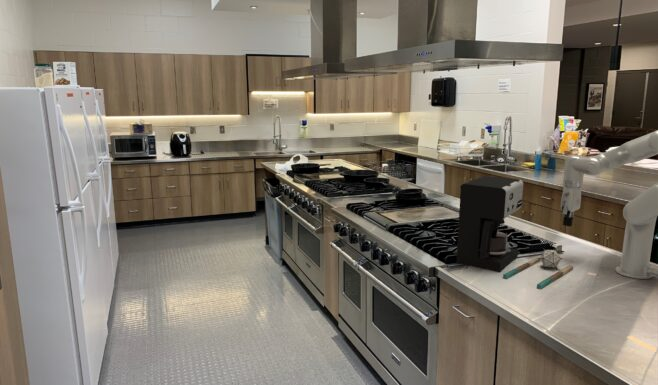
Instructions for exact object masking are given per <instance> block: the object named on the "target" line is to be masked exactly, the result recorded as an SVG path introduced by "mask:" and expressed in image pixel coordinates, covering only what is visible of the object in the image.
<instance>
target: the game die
mask: <svg viewBox="0 0 658 385" xmlns="http://www.w3.org/2000/svg"><path fill="white" fill-rule="evenodd" d="M542 249H543V252H542V254H540V255H541V256H540V257H539V258H537V259H540V262H542V265H543V266H544V267H543V269H544V270H545V269H546V268H555V270H558V268H557V266H559V263H560V261H561V260H563V259H564V258H563V257H560V255H559V253H558V251H557V248H555V249H545V248H544V247H543V248H542Z"/></svg>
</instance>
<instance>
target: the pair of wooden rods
mask: <svg viewBox="0 0 658 385" xmlns="http://www.w3.org/2000/svg"><path fill="white" fill-rule="evenodd" d="M537 258H540V257H538V256H536V257H535V258H533V259H531V260H528V261H527V262H524V263H522V264H520V265H518V266H517V267H515V268H513V269H511V270H509V271H507V272H505V273H503V275H502V278H503V279H504V280H508V279H509V278H511V277H514V276H515V275H517V274H519V273H521V272H522V271H525V270H526V269H528V268H531V267H532V266H534V265H536V264H538V263H539V262H541V260H540V259H537ZM573 269H574V265H570V264H569V265H568V266H565V267H564V268H561V270H558V271H557V272H555V273H554V274H552V275H550V276H548V277H547V278H545V279H543V280H542V281H540V282H538V283H537V284H536V289H539V290H542V289H543V288H545V287H547V286H548V285H550V284H552V283H553V282H555V281H556V280H559V279H560V278H561V277H563V276H564V275H566V274H568V273H570V272H572V271H573Z"/></svg>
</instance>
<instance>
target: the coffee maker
mask: <svg viewBox="0 0 658 385" xmlns="http://www.w3.org/2000/svg"><path fill="white" fill-rule="evenodd" d="M459 188H460V195H459V196H460V197H459V210H458V214H459V215H458V227H457V228H458V229H457V230H458V232H457V247H456V248H457V249H456V264H460V265H463V266H464V265H465V266H469V267H474V268H478V269H483V270H487V271H491V272H496V273H501V272H503V270H504V269H505V268H506V267H507V266H509V265H510V264H511V263H512V262H514V260H515V259H517V258H518V252H519V250H518V248H517V249H516V248H513V247H512V248H511V247H507V244H508V234H507V233H504V232H501V231H499V225H504V224H505V222H506V221H505V219H506V218H508V217H509V216H511V215H512V214H514V213H515V212H517V211H518V210H519V211H520V209H521V208H522V203H523V195H524V194H523V192H524V182H523V180H522V179H515V178H507V177H498V176H489V175H487V176H486V175H483V176H480V177H477V178H475V179H473V180H470V181H467V182H465V183H463V184H461V185H460V187H459Z"/></svg>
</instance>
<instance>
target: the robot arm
mask: <svg viewBox="0 0 658 385" xmlns="http://www.w3.org/2000/svg"><path fill="white" fill-rule="evenodd" d="M657 155H658V129H657V130H655V131H651V132H650V133H648V134H645V135H642V136H639V137H637V138H634V139H631V140H630V141H626V142H625V143H623V144H621V145H619V146H618V147H615V148H613V149H611V150H607V151H604V152H603V153H599V154H597V155H594V156H590V157H585V156H584V155H581V154H580V155H579V154H567V156H566V157H565V161H564V169H563V176H562V178H563V179H562V185H561V186H562V188H563V190H562V193H561V194H562V195H561V200H560V210H561V211H562V215H563V221H562V225H563V226H564V227H565V226H566V227H572V226H573V221H574V215H575V211H578V210H579V209H580V208H581V204H582V203H581V202H582V189H583V184H584V183H583V182H584V175H587V176H590V177H591V176H597V175H600V174H603V173H604V172H607V171H609V170H613V169H616V168H619V167H621V166H624V165H629V164H634V163H637V162H641V161H643V160H646V159H648V158H651V157H653V156H657ZM622 214H623V218H624V220H625V222H626V224H625V229H624V236H623V245H622V251H621V252H622V254H621V259H620V265H618V266H616V267H615V272H616V273H618V274H619V275H621V276H623V277H627V278H632V279H636V280H640V279H641V280H647V279H648V280H649V279H651V278H653V275H655V276H657V277H658V268H654V267H652V263H650V262H651V261H650V260H651V253H652V246H653V241H654V240H653V239H654V233H655V227H656V223H657V222H656V221H657V219H658V181H657V182H656V183H655V184H653V185H651V186H649V188H647V189H646V190H645V191H643V192H642V193H640V194H639V195H638V196H636V197H634V198H633V199H632V200H630V201H629V202H627V203H626V204H625V206H624V207H623V209H622Z"/></svg>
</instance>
